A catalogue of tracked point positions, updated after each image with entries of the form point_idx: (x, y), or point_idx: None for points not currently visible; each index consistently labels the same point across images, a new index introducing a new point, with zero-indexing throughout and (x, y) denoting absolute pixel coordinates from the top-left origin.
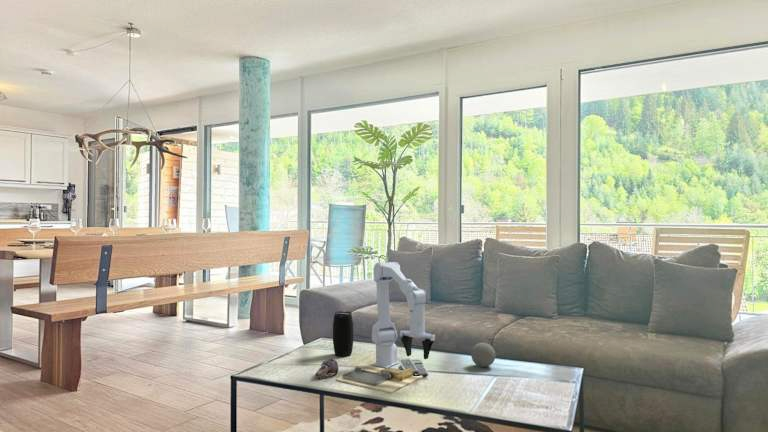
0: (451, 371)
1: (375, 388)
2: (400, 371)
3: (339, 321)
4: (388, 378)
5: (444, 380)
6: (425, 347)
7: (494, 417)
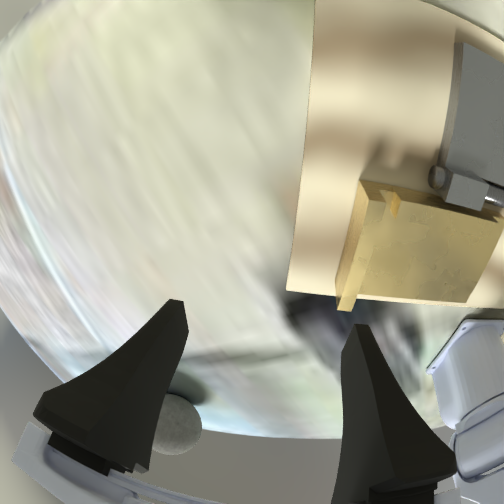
0: (223, 364)
1: (436, 7)
2: (404, 277)
3: None
4: (440, 166)
5: (184, 284)
6: (99, 376)
7: None
